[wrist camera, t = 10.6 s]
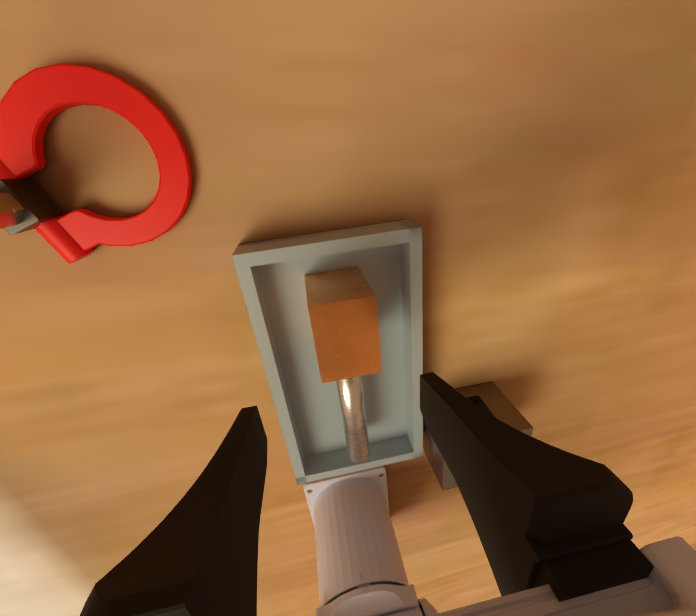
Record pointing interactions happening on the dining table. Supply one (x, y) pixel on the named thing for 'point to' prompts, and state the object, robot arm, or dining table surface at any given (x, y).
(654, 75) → the dining table surface
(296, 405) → the tray
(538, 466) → the robot arm
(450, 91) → the dining table surface
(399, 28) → the dining table surface
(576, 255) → the dining table surface
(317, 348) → the hitch pin
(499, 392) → the block
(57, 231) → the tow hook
